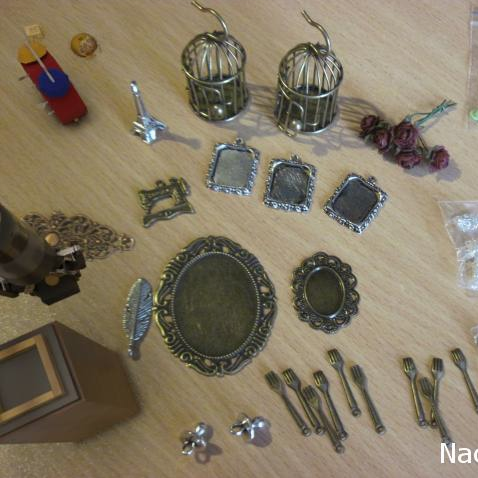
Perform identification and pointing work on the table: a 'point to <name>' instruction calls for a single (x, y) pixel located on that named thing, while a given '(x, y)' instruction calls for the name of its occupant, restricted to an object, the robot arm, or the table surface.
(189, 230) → the table surface
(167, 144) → the table surface
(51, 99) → the red and blue toy
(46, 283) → the dark brown block
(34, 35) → the alphabet block
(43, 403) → the stand
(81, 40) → the fruit
